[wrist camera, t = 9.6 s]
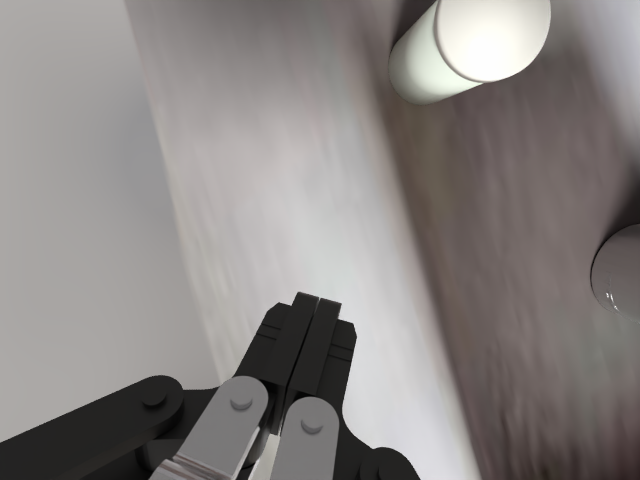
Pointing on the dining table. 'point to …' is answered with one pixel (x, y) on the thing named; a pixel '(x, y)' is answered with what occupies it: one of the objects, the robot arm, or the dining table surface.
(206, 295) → the dining table surface
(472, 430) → the dining table surface
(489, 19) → the canister
